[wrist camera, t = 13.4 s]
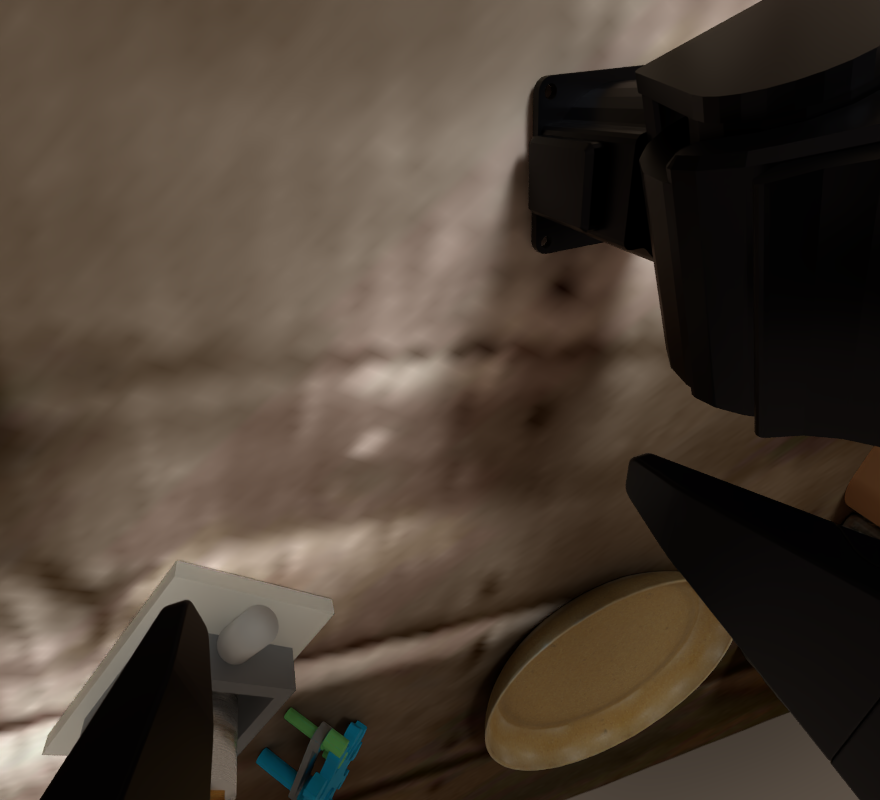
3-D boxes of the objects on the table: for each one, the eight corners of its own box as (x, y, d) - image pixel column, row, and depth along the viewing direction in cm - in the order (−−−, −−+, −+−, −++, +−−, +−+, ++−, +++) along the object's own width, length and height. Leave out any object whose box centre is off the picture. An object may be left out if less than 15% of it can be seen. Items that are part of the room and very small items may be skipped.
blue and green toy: (346, 798, 38) (258, 945, 29) (287, 751, 40) (184, 877, 31) (393, 690, 36) (312, 814, 26) (327, 645, 37) (229, 747, 28)
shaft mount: (177, 560, 24) (168, 621, 21) (332, 598, 29) (341, 653, 26) (47, 735, 27) (24, 810, 24) (208, 743, 32) (204, 806, 29)
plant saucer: (478, 597, 34) (498, 640, 31) (747, 520, 41) (782, 550, 38) (464, 763, 46) (477, 803, 44) (671, 683, 53) (694, 714, 51)
